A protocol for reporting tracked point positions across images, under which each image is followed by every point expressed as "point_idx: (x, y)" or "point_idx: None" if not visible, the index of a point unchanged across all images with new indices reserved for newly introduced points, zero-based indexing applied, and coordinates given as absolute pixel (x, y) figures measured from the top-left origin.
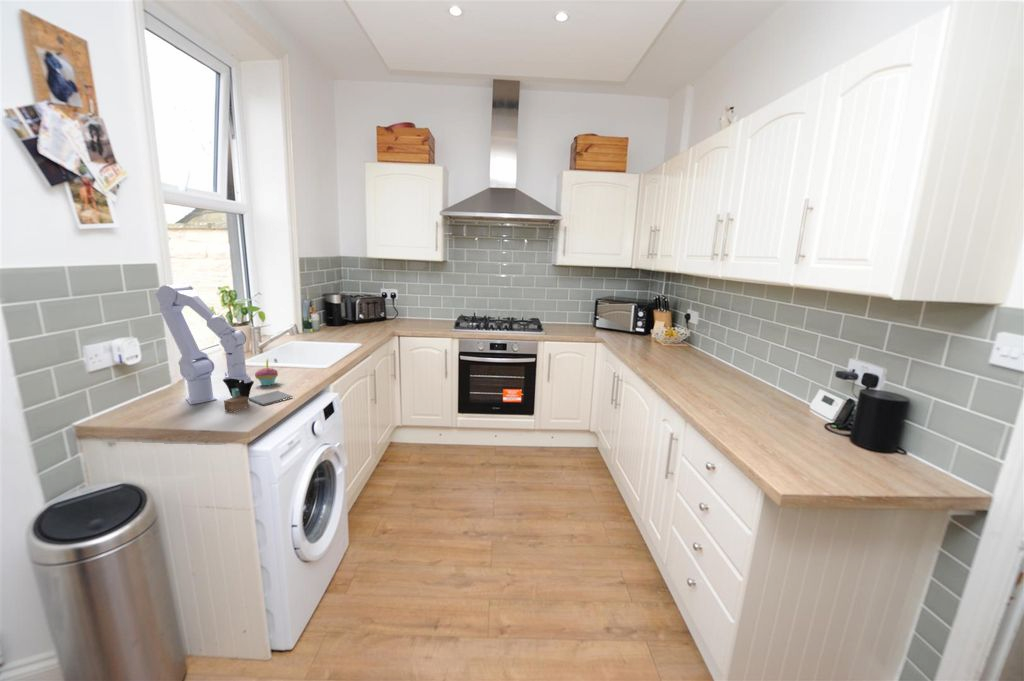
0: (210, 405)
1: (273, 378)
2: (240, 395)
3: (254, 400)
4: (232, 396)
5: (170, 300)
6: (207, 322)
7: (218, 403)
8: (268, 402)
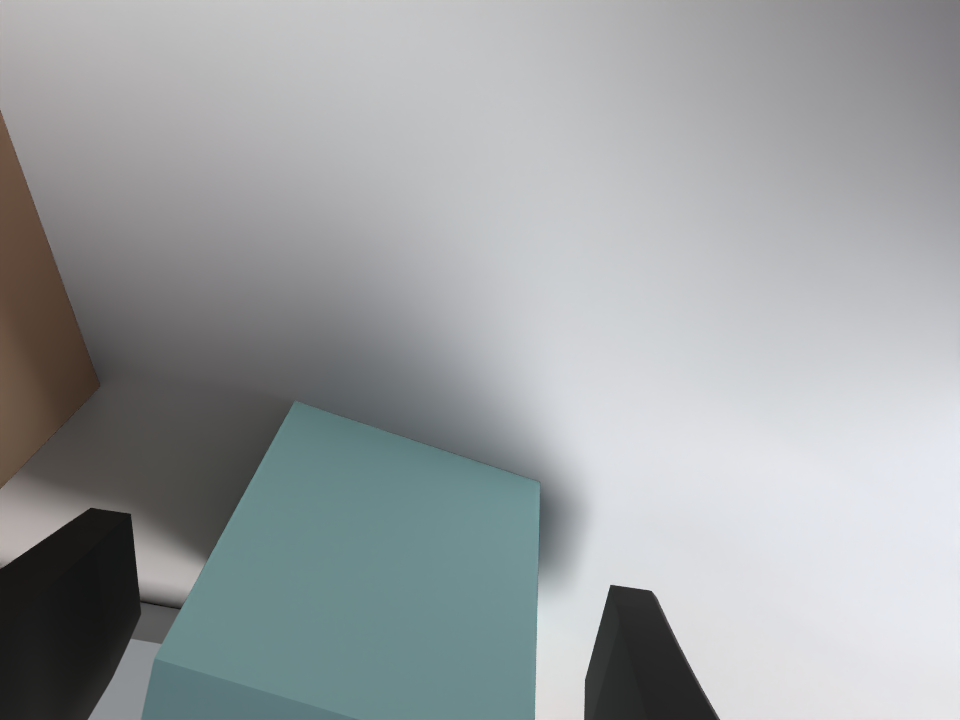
0: (768, 37)
1: None
2: (35, 587)
3: None
4: (514, 561)
5: None
6: None
7: (707, 246)
8: None
